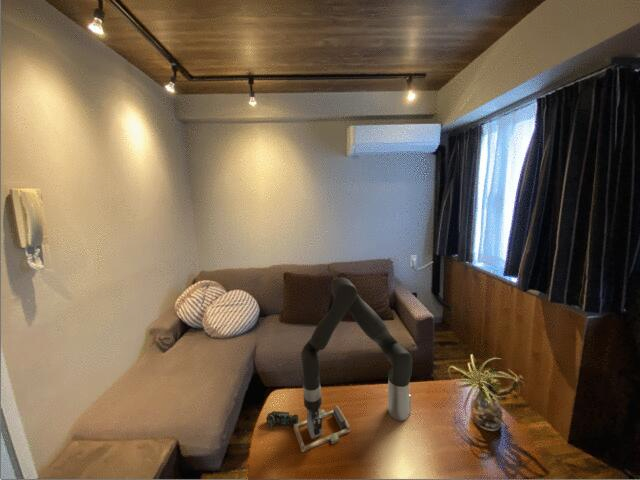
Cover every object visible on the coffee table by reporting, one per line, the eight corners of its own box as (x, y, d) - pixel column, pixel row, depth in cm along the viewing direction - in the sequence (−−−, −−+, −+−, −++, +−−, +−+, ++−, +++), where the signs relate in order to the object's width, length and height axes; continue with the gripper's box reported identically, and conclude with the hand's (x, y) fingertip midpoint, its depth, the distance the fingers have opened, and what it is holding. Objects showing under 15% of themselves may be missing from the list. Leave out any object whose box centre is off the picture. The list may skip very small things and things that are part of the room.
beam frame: (336, 406, 123) (335, 399, 123) (352, 435, 108) (352, 427, 108) (292, 423, 115) (291, 415, 115) (303, 456, 100) (303, 448, 100)
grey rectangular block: (318, 425, 114) (317, 409, 112) (322, 434, 109) (321, 418, 108) (307, 429, 112) (306, 413, 110) (311, 439, 107) (310, 423, 106)
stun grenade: (298, 421, 117) (269, 419, 118) (298, 408, 116) (268, 406, 118) (295, 433, 111) (264, 430, 112) (295, 419, 110) (263, 417, 112)
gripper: (327, 403, 102) (329, 439, 105) (314, 380, 115) (316, 412, 118) (309, 409, 99) (312, 446, 102) (298, 385, 112) (301, 418, 115)
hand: (314, 428), depth 110 cm, fingers closed on grey rectangular block, 5 cm apart
